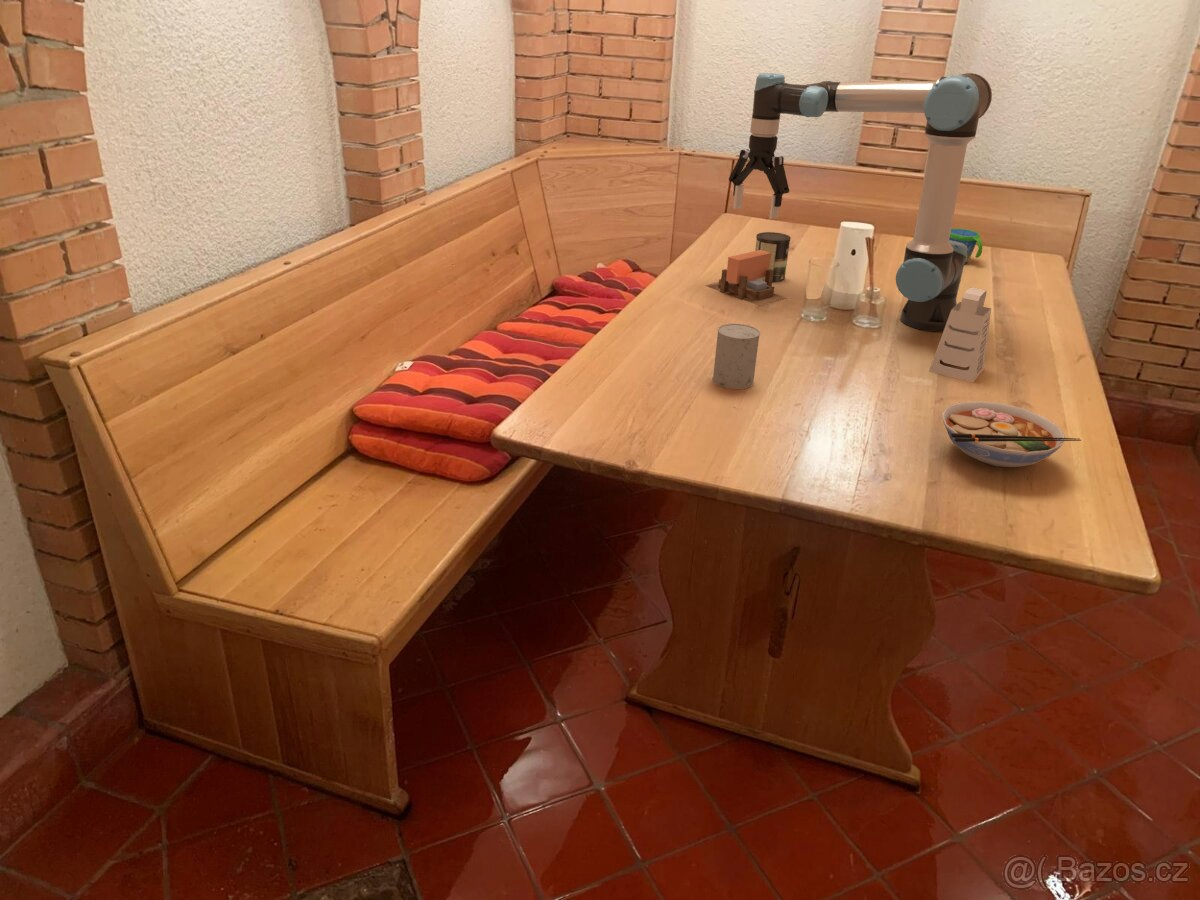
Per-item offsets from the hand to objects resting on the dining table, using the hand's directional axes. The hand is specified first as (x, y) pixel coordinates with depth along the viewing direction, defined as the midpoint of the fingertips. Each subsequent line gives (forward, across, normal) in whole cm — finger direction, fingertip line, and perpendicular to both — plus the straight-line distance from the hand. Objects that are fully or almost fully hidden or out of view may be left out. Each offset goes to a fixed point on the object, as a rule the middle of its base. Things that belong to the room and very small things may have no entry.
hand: (755, 213), depth 257 cm
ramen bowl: (+25, -99, +35) cm, 108 cm away
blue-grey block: (+23, 0, 0) cm, 23 cm away
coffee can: (+24, +6, -17) cm, 30 cm away
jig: (+24, 0, 0) cm, 24 cm away
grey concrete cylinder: (+25, -42, +50) cm, 70 cm away
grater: (+25, -69, -1) cm, 73 cm away
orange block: (+19, 0, 0) cm, 19 cm away
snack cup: (+25, -15, -90) cm, 95 cm away
